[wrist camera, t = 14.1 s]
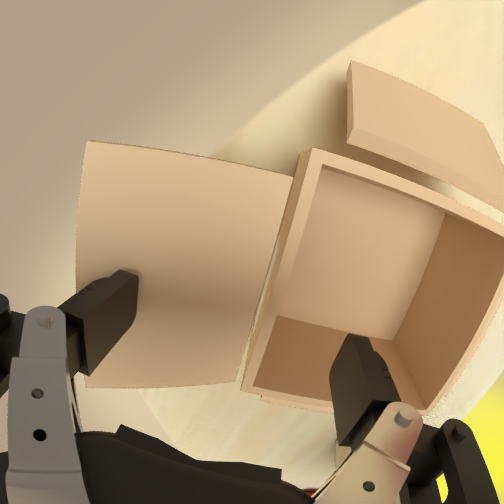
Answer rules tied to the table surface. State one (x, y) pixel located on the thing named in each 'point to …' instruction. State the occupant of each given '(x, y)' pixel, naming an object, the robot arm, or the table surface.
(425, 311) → the carton
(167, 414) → the table surface
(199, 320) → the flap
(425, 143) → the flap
